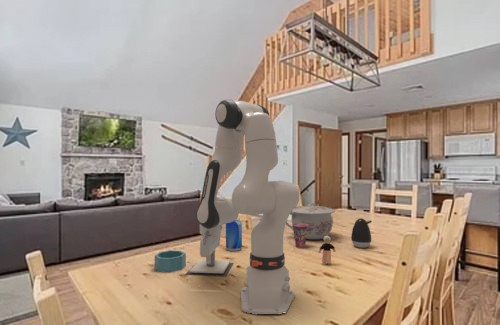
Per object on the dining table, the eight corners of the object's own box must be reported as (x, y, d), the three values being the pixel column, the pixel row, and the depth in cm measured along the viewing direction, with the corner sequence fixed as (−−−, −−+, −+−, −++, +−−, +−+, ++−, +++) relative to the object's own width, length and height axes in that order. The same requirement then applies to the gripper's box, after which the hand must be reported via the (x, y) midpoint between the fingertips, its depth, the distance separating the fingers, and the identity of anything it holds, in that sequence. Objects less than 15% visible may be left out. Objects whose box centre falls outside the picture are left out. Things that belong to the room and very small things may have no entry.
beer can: (222, 250, 164) (222, 219, 164) (231, 246, 171) (231, 217, 171) (236, 252, 160) (236, 220, 160) (244, 248, 168) (244, 218, 168)
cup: (301, 249, 164) (301, 226, 164) (289, 246, 170) (289, 224, 170) (312, 246, 170) (312, 224, 170) (300, 243, 176) (300, 222, 176)
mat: (226, 277, 125) (226, 276, 125) (184, 276, 127) (184, 274, 127) (234, 264, 142) (234, 262, 142) (197, 262, 144) (197, 261, 144)
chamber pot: (341, 235, 196) (340, 201, 195) (327, 245, 172) (327, 207, 172) (298, 230, 210) (298, 199, 210) (281, 239, 186) (280, 204, 186)
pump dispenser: (372, 250, 162) (372, 220, 162) (351, 248, 165) (350, 219, 165) (371, 245, 172) (371, 217, 172) (351, 243, 175) (351, 216, 175)
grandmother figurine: (321, 266, 138) (321, 237, 138) (317, 263, 142) (317, 235, 142) (337, 264, 140) (337, 236, 140) (333, 262, 144) (332, 234, 144)
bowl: (178, 273, 130) (178, 259, 130) (150, 272, 132) (150, 258, 132) (188, 264, 142) (188, 250, 142) (162, 263, 144) (162, 250, 144)
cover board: (223, 273, 126) (223, 260, 126) (189, 272, 128) (189, 259, 128) (230, 262, 140) (229, 250, 140) (199, 261, 142) (199, 250, 142)
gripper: (211, 234, 124) (211, 269, 123) (222, 224, 144) (222, 254, 144) (195, 234, 124) (196, 269, 124) (209, 224, 145) (209, 254, 145)
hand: (210, 261), depth 134 cm, fingers closed on cover board, 4 cm apart
